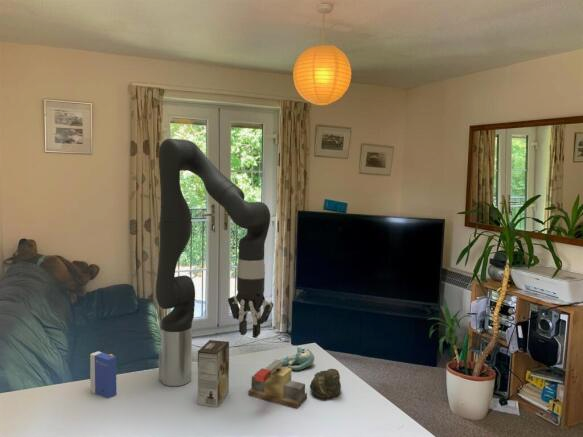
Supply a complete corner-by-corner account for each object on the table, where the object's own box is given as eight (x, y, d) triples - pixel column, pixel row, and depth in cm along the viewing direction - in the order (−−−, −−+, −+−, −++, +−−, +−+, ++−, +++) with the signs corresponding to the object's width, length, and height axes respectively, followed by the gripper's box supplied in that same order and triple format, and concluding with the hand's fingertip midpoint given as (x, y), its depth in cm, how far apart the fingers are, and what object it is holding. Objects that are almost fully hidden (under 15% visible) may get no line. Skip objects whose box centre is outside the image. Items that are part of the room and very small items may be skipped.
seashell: (315, 387, 127) (349, 384, 129) (307, 351, 136) (339, 349, 138) (310, 407, 134) (342, 404, 136) (303, 372, 143) (333, 370, 145)
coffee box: (209, 389, 136) (209, 338, 134) (229, 392, 134) (229, 341, 133) (196, 405, 127) (197, 350, 125) (218, 408, 125) (218, 353, 124)
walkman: (116, 394, 131) (116, 355, 130) (108, 398, 129) (108, 358, 127) (98, 388, 135) (97, 349, 133) (90, 391, 132) (89, 352, 131)
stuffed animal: (278, 344, 160) (311, 339, 159) (282, 363, 160) (314, 358, 160) (277, 356, 149) (312, 351, 148) (280, 376, 150) (316, 371, 149)
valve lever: (275, 367, 133) (275, 357, 133) (283, 369, 132) (283, 359, 131) (254, 384, 122) (254, 373, 122) (263, 387, 121) (263, 376, 121)
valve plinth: (248, 395, 133) (248, 368, 132) (259, 385, 139) (260, 360, 138) (297, 408, 126) (298, 380, 125) (306, 398, 132) (307, 371, 132)
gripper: (221, 274, 122) (220, 335, 123) (267, 280, 116) (265, 345, 117) (236, 269, 128) (235, 327, 130) (280, 275, 122) (278, 336, 124)
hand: (249, 335), depth 124 cm, fingers open, 3 cm apart
